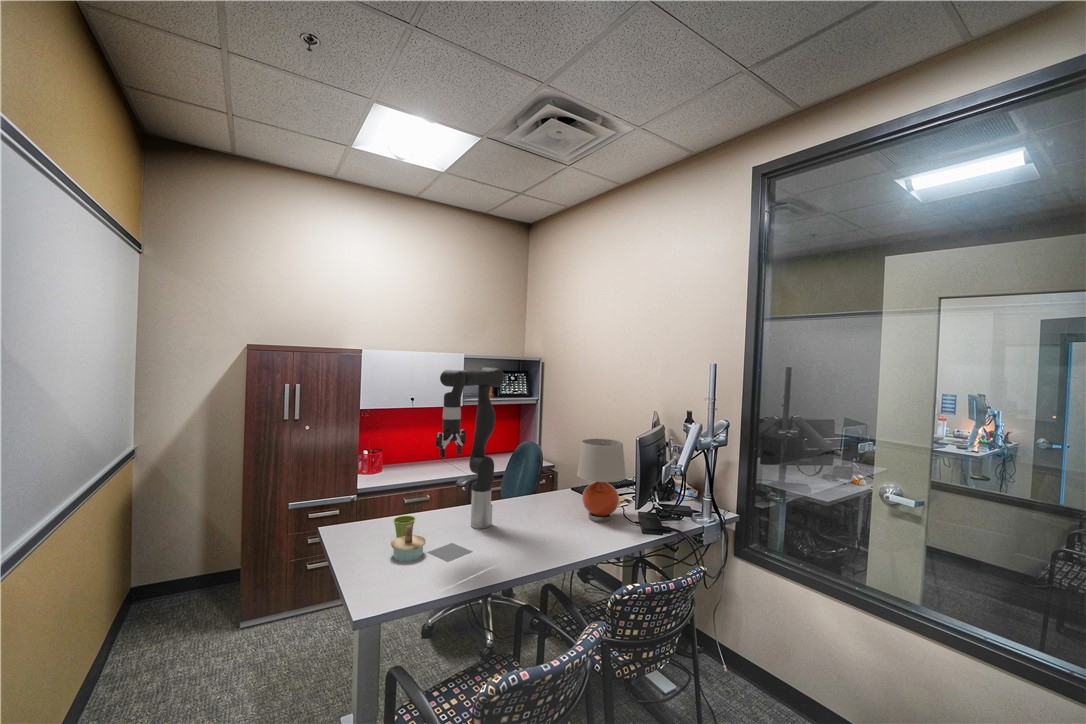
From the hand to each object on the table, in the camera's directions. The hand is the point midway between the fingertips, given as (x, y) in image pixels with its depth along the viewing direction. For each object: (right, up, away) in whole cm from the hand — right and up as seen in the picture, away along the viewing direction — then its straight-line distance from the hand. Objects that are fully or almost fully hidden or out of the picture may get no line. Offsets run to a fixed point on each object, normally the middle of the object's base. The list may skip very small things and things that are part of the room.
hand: (450, 456), depth 193 cm
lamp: (+68, -40, +41) cm, 89 cm away
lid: (-15, -33, -11) cm, 37 cm away
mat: (+1, -38, -7) cm, 39 cm away
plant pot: (-22, -38, +7) cm, 44 cm away
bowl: (-15, -38, -11) cm, 42 cm away
